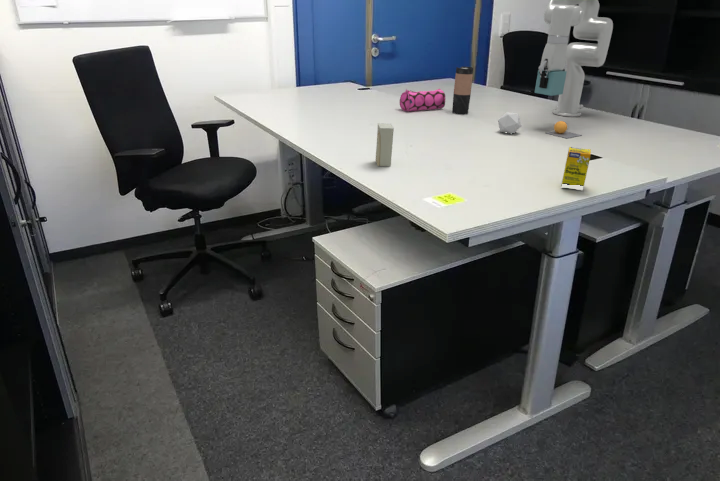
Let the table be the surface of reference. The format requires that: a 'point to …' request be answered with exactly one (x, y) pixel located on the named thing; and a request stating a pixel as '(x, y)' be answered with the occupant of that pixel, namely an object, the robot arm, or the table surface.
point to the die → (509, 122)
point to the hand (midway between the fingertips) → (549, 87)
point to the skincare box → (384, 144)
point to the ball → (560, 127)
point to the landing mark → (564, 134)
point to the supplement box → (576, 166)
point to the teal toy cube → (552, 83)
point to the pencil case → (422, 100)
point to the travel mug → (462, 90)
